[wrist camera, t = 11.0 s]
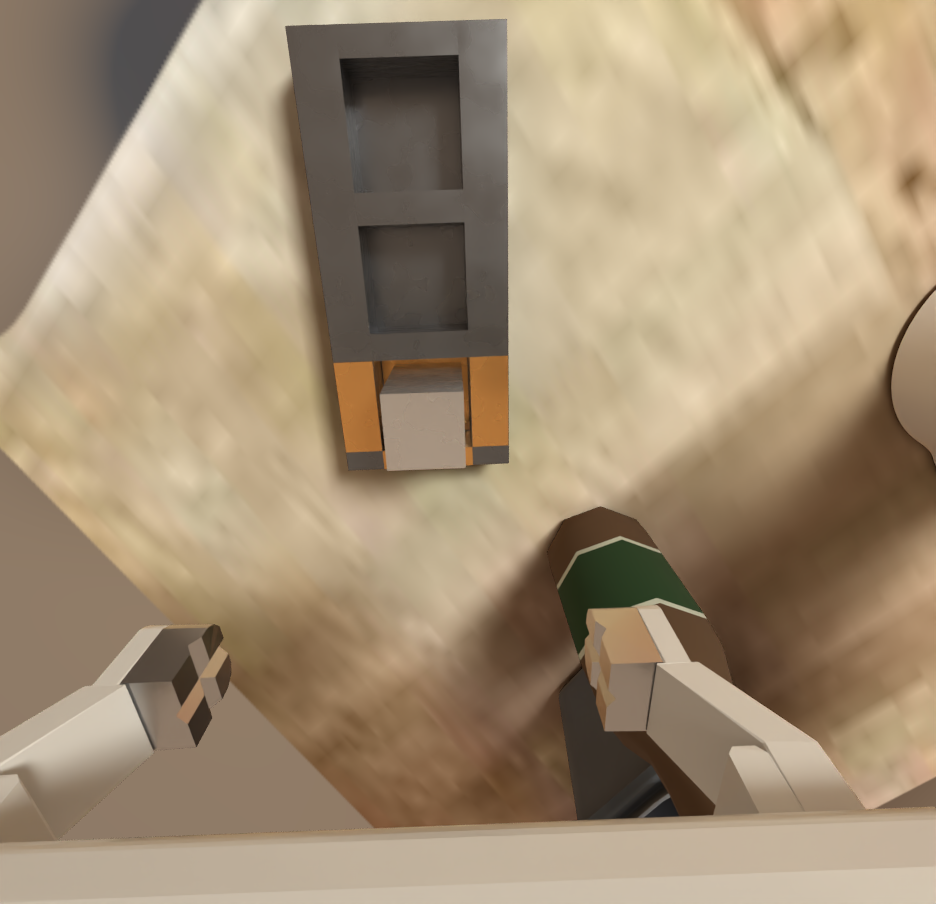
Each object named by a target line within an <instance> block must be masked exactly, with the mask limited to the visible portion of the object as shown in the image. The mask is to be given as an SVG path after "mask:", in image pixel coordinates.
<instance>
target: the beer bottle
mask: <svg viewBox="0 0 936 904" xmlns="http://www.w3.org/2000/svg"><path fill="white" fill-rule="evenodd" d="M547 554H548V559H549V563H550V567H551V570H552V574H553V577H554V580H555V583H556V586H557V589H558V593H559V596H560V599H561V602H562V605H563V609H564V612H565V615H566V618H567V621H568V625H569V628H570V631H571V634H572V637H573V640H574V644H575V647H576V650H577V653H578V656H579V660H580V662H581V665H582V667H583V670H584V672H585V674H586V677H587V679H588V682H589V684H590V681H589V678H588V674H587V669H586V663H585V639H586V638H587V636H588V635H589V631H588V628H587V624H586V619H587V612H588V609H598V608H619V607H634V606H648V605H657V606H659V607H660V608H661V609H662V611H663V613H664V615H665V616H666V618H667V620H668V622H669V623H670V625H671V627H672V629H673V631H674V632H675V634H676V636H677V638H678V639H679V641H680V643H681V645H682V646H683V648H684V650H685V652H686V654H687V655H688V657H689V659H690V661H691V662H699V663H701V664H702V665H704V666H705V667H707V668H708V669H710V670H711V671H713V672H714V673H716V674H717V675H719V676H720V677H722V678H723V679H725V680H726V681H728V682H729V683H731V684H732V685H733V682H732V679H731V675H730V671H729V668H728V664H727V660H726V657H725V653H724V649H723V646H722V644H721V642H720V640H719V639H718V637H717V635H716V633H715V632H714V630H713V628H712V626H711V625H710V623H709V621H708V619H707V618H706V616H705V615H704V614H703V612H702V611H701V609H700V608H699V606H698V605H697V604H696V602H695V601H694V599H693V598H692V596H691V595H690V594H689V592H688V591H687V589H686V588H685V586H684V585H683V583H682V582H681V581H680V579H679V578H678V576H677V575H676V573H675V572H674V571H673V569H672V568H671V566H670V565H669V563H668V562H667V561H666V559H665V558H664V556H663V555H662V553H661V552H660V551H659V549H658V548H657V546H656V545H655V543H654V542H653V540H652V539H651V538H650V536H649V535H648V533H647V532H646V531H645V529H644V528H643V527H642V526H641V525H640V524H639V522H638V521H637V520H636V519H633V518H631V517H628V516H625V515H622V514H620V513H617V512H614V511H612V510H609V509H606V508H603V507H598V508H595V509H592V510H590V511H587V512H584V513H581V514H579V515H576V516H573V517H571V518H568V519H565V520H564V522H563V524H562V526H561V527H560V529H559V531H558V533H557V535H556V536H555V538H554V540H553V542H552V544H551V545H550V547H549V549H548V551H547ZM590 686H591V689H592V691H593V693H594V696H595V698H596V694H597V690H596V689H595V688H594V687H593V686H592V685H590ZM613 732H614V734H615V735H616V736H617V737H618V739H619V740H620V741H621V742H622V744H623V745H624V746H625V747H627V748H628V749H630V750H631V751H632V752H634V753H635V754H637V755H638V756H639V757H641V758H642V759H644V760H645V761H646V762H648V763H649V764H651V765H652V767H653V768H654V770H655V772H656V773H657V775H658V777H659V778H660V780H661V782H662V783H663V785H664V787H665V789H666V790H667V792H668V794H669V795H670V797H671V799H672V801H673V804H674V806H675V808H676V810H677V812H678V814H679V817H680V816H706V815H713V814H714V810H715V806H716V805H715V804H714V803H713V802H712V801H711V800H710V799H709V798H708V797H707V796H706V795H705V794H704V793H703V791H702V790H701V789H700V788H699V787H698V786H697V785H696V784H695V783H694V782H693V781H692V780H691V779H690V778H689V777H688V776H687V775H686V774H685V773H684V772H683V771H682V770H681V769H680V768H679V766H678V765H677V764H676V763H675V762H674V761H673V760H672V759H671V758H670V757H669V756H668V755H667V754H666V753H665V752H664V751H663V750H662V749H661V748H660V747H659V746H658V745H657V744H656V743H655V741H654V740H653V739H652V738H651V737H650V736H649V735H648V734H647V731H613Z"/></svg>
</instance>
